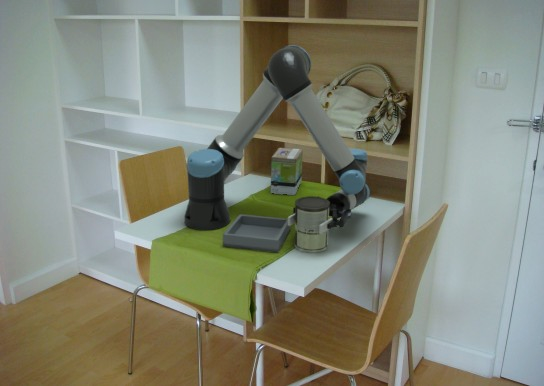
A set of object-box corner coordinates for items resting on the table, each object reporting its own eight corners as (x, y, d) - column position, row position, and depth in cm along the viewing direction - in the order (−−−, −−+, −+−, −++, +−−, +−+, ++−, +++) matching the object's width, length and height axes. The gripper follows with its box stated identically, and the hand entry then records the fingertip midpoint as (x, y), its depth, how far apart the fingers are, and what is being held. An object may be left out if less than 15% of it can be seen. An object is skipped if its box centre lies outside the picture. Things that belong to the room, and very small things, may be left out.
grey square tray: (223, 246, 170) (222, 234, 169) (239, 225, 186) (239, 214, 184) (277, 252, 166) (278, 240, 165) (290, 230, 182) (290, 219, 180)
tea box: (296, 196, 213) (296, 158, 209) (270, 194, 215) (270, 156, 210) (302, 183, 227) (302, 148, 222) (277, 182, 229) (277, 146, 224)
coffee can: (287, 242, 173) (288, 199, 169) (316, 236, 178) (318, 194, 173) (304, 255, 165) (306, 210, 160) (334, 248, 169) (336, 204, 164)
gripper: (371, 222, 178) (338, 246, 160) (309, 207, 190) (272, 228, 172) (372, 199, 175) (339, 222, 158) (310, 186, 187) (272, 205, 170)
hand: (304, 225), depth 165 cm, fingers closed on coffee can, 10 cm apart
